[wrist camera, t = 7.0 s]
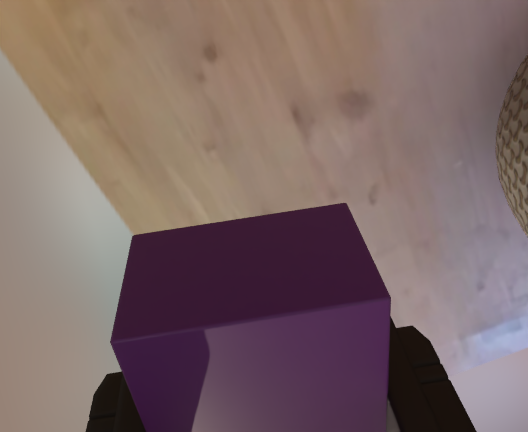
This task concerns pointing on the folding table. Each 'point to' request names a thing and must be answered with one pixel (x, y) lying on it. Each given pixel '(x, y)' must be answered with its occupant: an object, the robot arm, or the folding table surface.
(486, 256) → the folding table surface
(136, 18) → the folding table surface
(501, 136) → the planter
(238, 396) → the block
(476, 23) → the folding table surface
